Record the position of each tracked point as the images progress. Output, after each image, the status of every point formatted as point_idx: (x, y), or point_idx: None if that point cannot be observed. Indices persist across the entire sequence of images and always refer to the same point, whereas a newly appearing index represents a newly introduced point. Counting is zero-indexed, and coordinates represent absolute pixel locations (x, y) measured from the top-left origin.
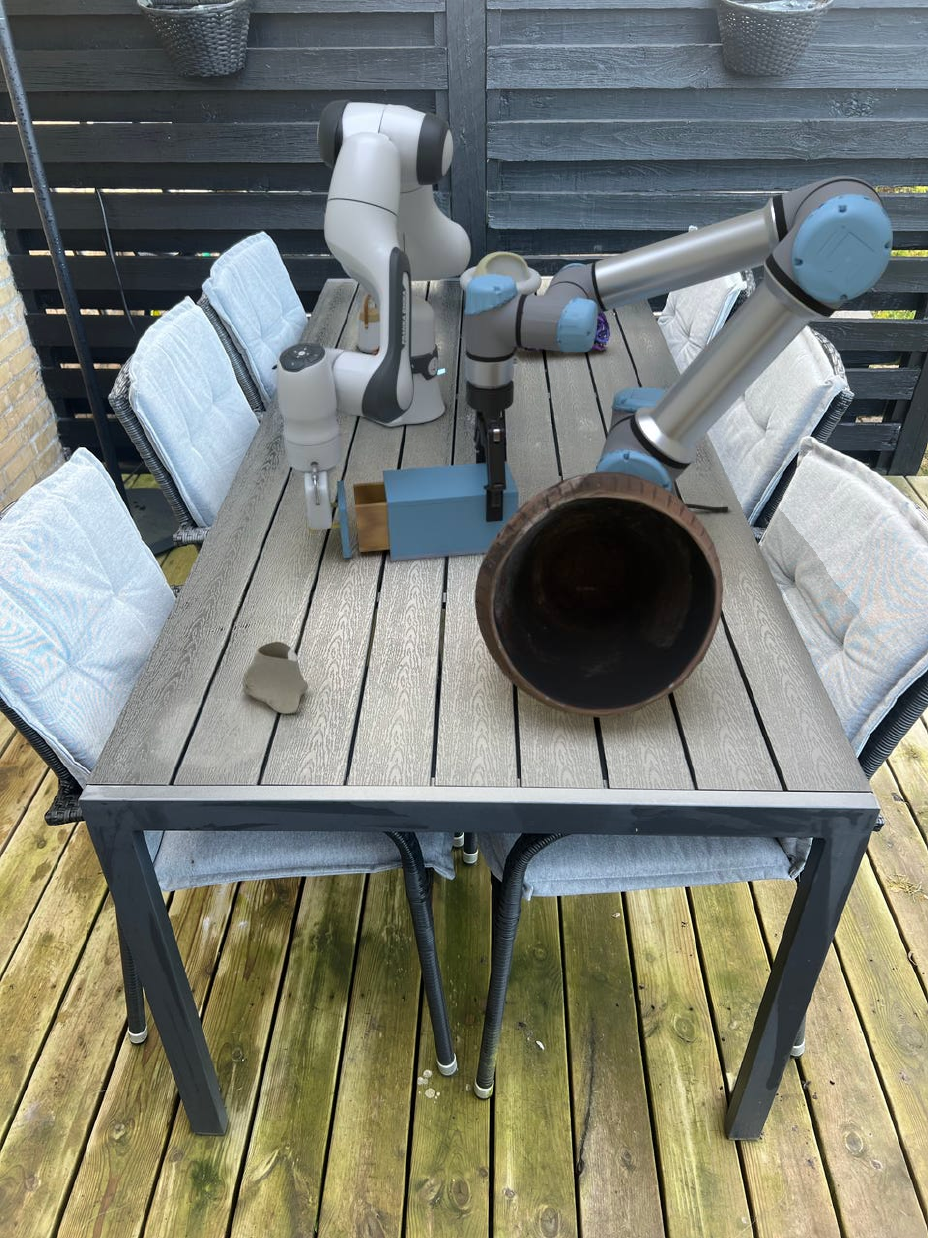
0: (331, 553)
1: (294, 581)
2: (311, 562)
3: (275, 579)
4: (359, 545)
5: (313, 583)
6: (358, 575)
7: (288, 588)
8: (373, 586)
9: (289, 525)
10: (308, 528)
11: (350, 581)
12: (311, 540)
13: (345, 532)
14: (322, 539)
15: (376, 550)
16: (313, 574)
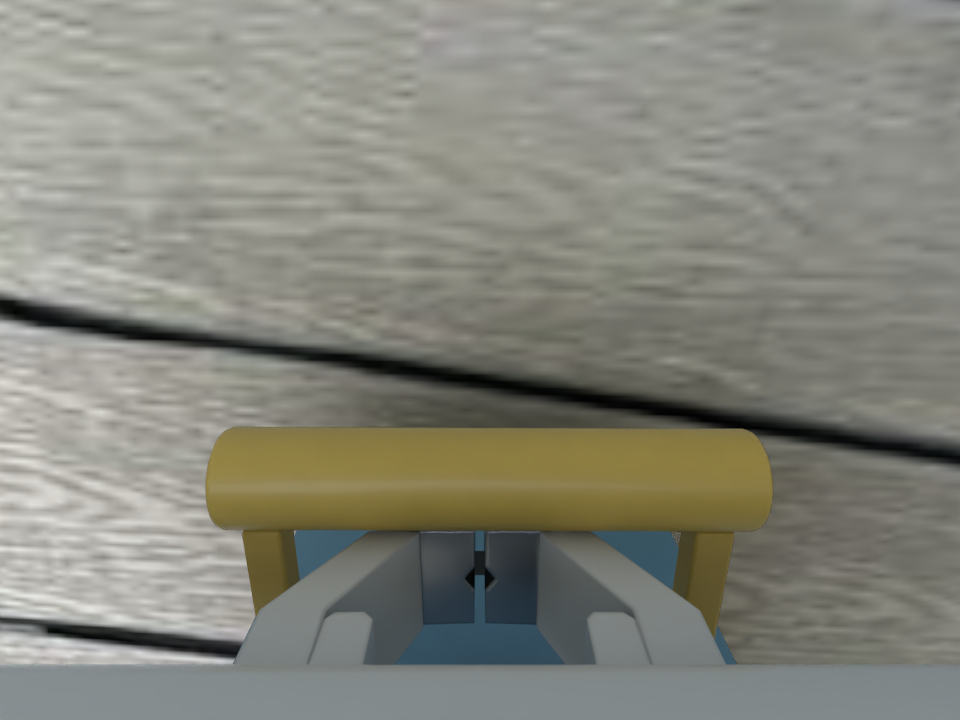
0: (430, 425)
1: (107, 187)
2: (337, 303)
3: (123, 38)
4: None
5: (93, 313)
6: (190, 551)
7: (17, 143)
8: (90, 610)
9: (867, 146)
10: (219, 441)
11: (129, 512)
12: (610, 307)
13: None
14: (605, 376)
15: None
16: (196, 314)
